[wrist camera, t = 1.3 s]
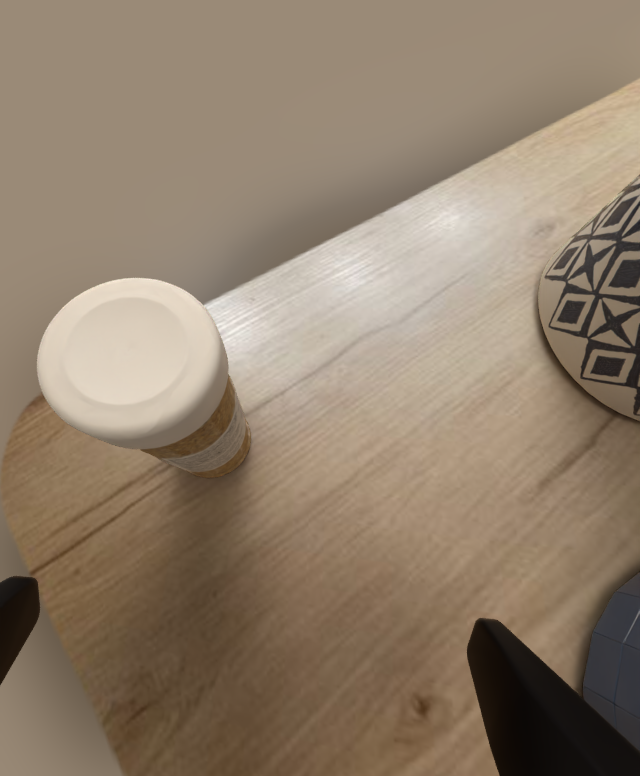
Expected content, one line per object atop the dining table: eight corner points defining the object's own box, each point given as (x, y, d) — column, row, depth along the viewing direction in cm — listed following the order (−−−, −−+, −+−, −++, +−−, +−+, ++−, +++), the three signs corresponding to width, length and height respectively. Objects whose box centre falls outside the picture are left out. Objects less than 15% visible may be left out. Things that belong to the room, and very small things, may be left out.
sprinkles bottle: (164, 418, 22) (12, 297, 9) (238, 393, 23) (190, 252, 10) (186, 492, 21) (47, 467, 8) (263, 462, 22) (244, 399, 9)
